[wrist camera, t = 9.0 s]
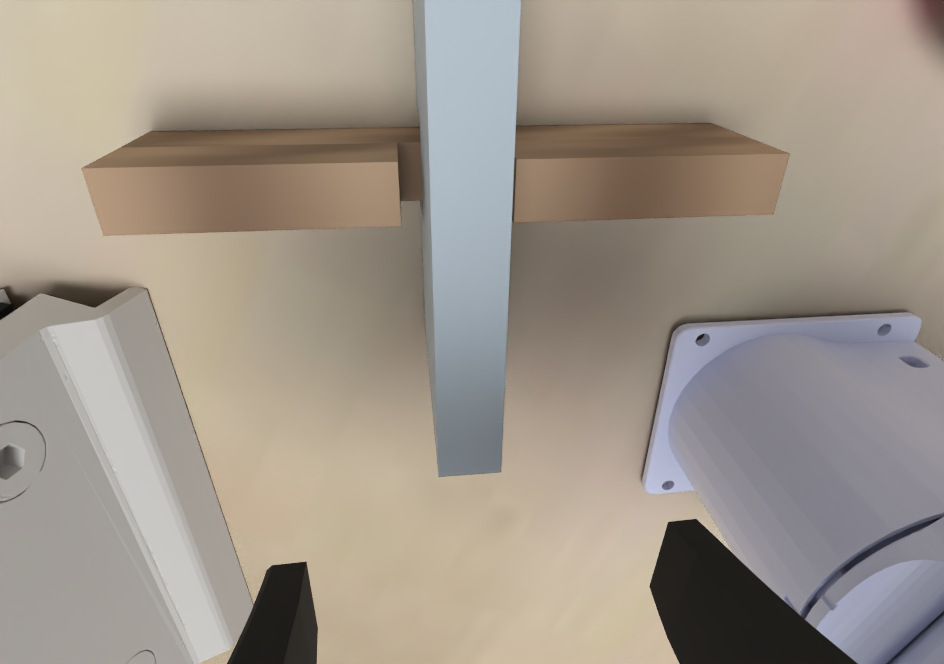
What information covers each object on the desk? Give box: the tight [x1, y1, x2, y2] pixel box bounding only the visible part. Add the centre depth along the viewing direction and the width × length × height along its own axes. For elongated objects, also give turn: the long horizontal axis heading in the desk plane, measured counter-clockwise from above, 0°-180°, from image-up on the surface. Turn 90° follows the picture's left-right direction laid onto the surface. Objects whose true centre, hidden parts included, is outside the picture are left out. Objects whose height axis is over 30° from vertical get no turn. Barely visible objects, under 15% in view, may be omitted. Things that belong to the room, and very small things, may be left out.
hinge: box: [0, 287, 253, 664], centre depth 18 cm, size 17×5×10 cm, turn 1°
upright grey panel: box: [413, 0, 521, 477], centre depth 14 cm, size 2×12×7 cm, turn 179°
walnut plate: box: [82, 123, 790, 236], centre depth 15 cm, size 16×2×4 cm, turn 89°
